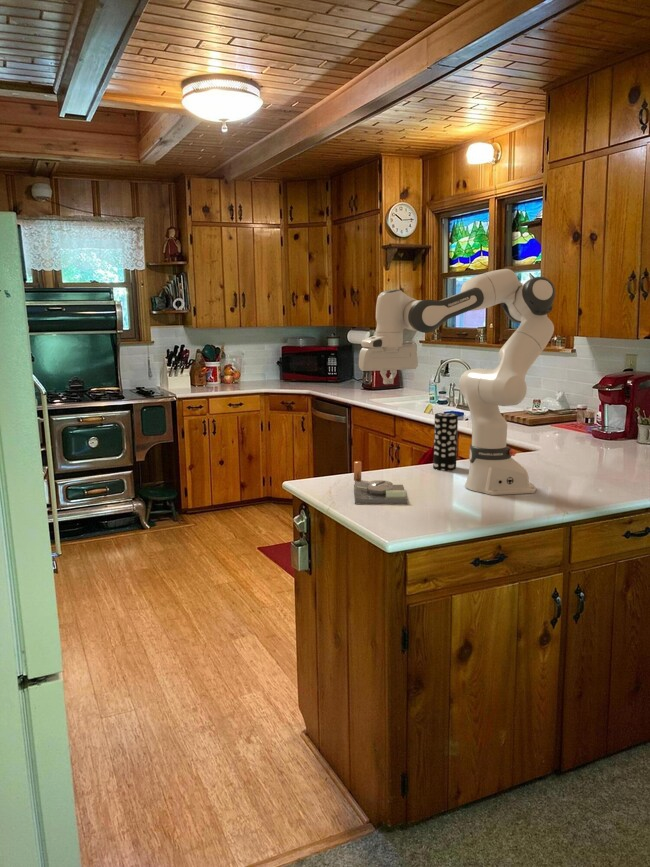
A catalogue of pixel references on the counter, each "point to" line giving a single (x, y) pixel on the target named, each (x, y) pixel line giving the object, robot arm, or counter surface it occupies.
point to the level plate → (381, 496)
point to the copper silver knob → (370, 482)
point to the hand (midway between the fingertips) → (388, 383)
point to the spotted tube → (445, 441)
